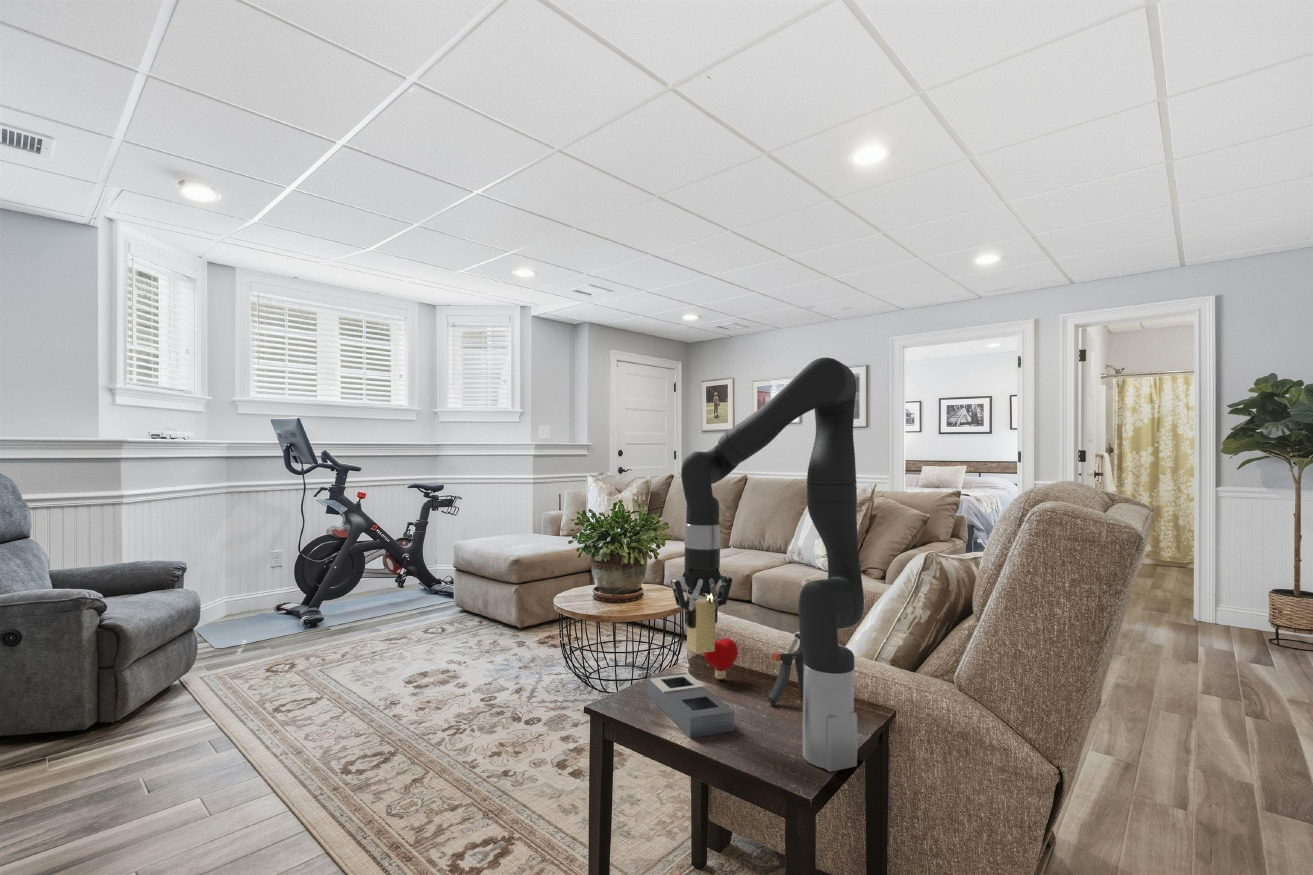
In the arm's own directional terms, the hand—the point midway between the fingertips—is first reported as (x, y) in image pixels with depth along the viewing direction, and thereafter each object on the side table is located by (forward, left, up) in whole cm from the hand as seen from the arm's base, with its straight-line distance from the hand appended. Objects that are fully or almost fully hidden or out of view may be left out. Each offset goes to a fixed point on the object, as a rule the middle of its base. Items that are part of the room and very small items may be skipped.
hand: (701, 626), depth 131 cm
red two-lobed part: (+21, -16, -20) cm, 33 cm away
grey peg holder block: (+6, 0, -20) cm, 21 cm away
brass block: (0, 0, -5) cm, 5 cm away
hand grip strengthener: (+4, -25, -20) cm, 33 cm away
